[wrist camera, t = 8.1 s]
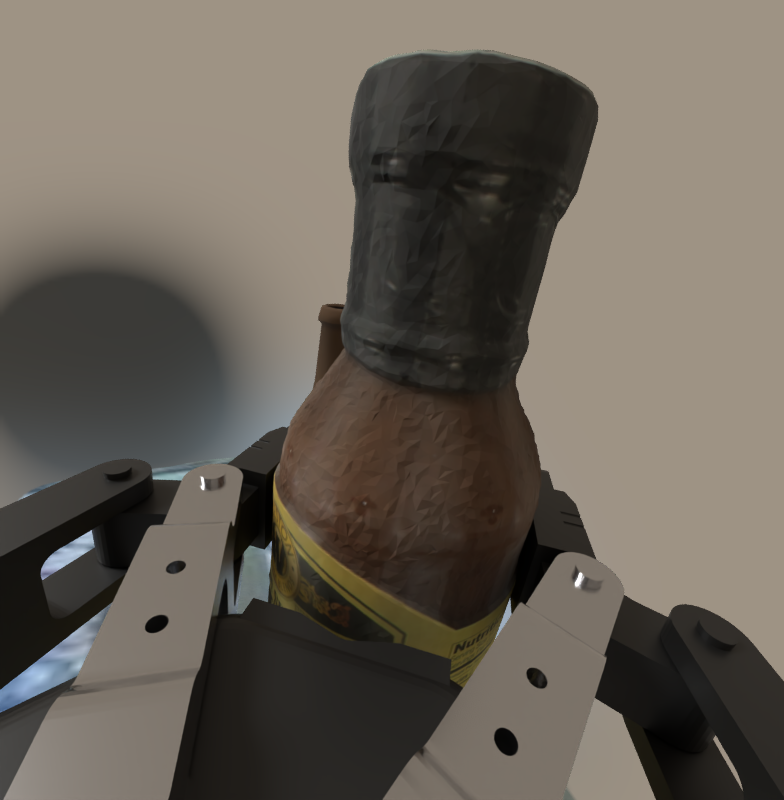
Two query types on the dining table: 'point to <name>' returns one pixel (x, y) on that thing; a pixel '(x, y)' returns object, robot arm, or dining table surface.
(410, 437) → the sauce bottle
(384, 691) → the robot arm
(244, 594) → the dining table surface
